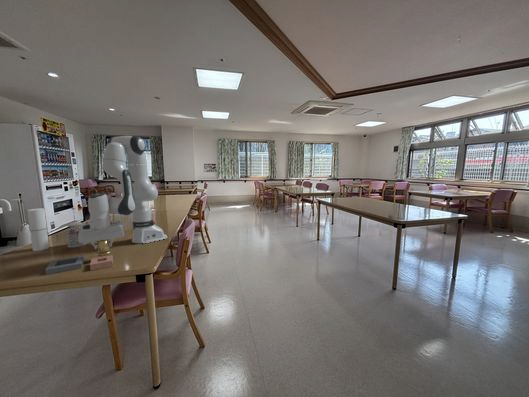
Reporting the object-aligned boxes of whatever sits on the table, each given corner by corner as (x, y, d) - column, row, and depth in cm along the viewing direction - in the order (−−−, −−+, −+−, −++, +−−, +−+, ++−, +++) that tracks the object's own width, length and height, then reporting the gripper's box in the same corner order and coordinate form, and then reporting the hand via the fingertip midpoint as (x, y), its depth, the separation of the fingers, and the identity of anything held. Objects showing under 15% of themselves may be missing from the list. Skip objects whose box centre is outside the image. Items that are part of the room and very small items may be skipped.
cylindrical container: (30, 251, 132) (24, 210, 129) (35, 247, 138) (30, 208, 135) (46, 249, 135) (41, 209, 132) (50, 246, 141) (46, 208, 138)
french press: (90, 242, 149) (87, 206, 146) (74, 248, 137) (70, 209, 134) (77, 242, 150) (73, 206, 147) (60, 248, 138) (55, 209, 135)
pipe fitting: (110, 251, 125) (109, 237, 124) (110, 254, 121) (109, 240, 119) (98, 253, 122) (96, 239, 121) (97, 257, 117) (95, 242, 116)
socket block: (84, 259, 121) (84, 255, 121) (81, 268, 110) (81, 263, 110) (52, 264, 114) (52, 260, 113) (46, 274, 103) (45, 269, 103)
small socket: (113, 260, 120) (112, 255, 119) (112, 266, 112) (112, 260, 112) (92, 264, 115) (91, 258, 114) (90, 270, 107) (90, 264, 107)
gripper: (123, 219, 127) (125, 242, 129) (77, 224, 116) (80, 249, 118) (123, 221, 122) (126, 245, 124) (75, 227, 111) (79, 253, 113)
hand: (103, 247), depth 121 cm, fingers closed on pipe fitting, 5 cm apart
